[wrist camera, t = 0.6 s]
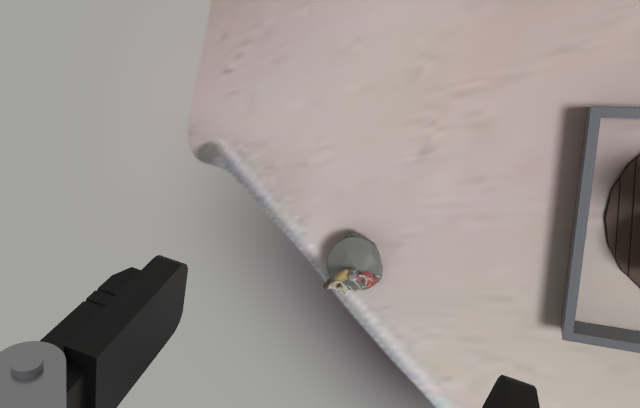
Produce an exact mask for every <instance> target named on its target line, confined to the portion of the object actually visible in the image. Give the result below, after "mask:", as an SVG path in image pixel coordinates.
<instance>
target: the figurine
mask: <svg viewBox="0 0 640 408" xmlns="http://www.w3.org/2000/svg"><path fill="white" fill-rule="evenodd" d="M327 269H328V272H329V275H330V277H331V278H332V280H331V279H328V280H327V282H326V283H325V286H324V288H325V289H330V288H334V289H336V291H337V292H339V293H340V294H342V295H345V292H348V289H349V290H352V291H354V290H355V291H358V290H365V289H369V288H370V287H372V286H374V285H375V284H376V283H378V282H379V281H380V279H381V277H382V271H383V269H382V264H381V260H380V255H379V252H378V250H377V247H376V245H375V244H374V243H373V242H372V241H370V240H369V239H366V238H363V237H362V236H361V235H360V234H358V233H350V234H348V235H347V236H345V239H343V240H341V241H340V242H338V243H337V244H336V245H335V246H334V247H333V248H332V250H331V252H330V254H329V256H328V259H327ZM335 287H336V288H335ZM338 289H339V290H340V291H342V292H344V293H341V292H340V291H339V290H338Z"/></svg>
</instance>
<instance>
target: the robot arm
mask: <svg viewBox="0 0 640 408" xmlns="http://www.w3.org/2000/svg"><path fill="white" fill-rule="evenodd" d="M187 272H188V267H187V265H186V264H184V263H181V262H178V261H175V260H172V259H169V258H166V257H163V256H160V255H158V256H156V257H155V258H153V259H152V260H151V261H150V262H149V263H148V264H147V265H146V266H145V267H144V268H143V269H142V270H138V269H135V268H133V267H131V268H128V269H126V270H124V271H122V272H119V273H117V274H114V275H112V276H111V277H110V278H109V279H108V280H107V281H106V282H104V283H103V284H102V285H101V286H100V287H99V288H98V290H97V291H94V292H93V293H92V294H91V295H90V296H89V297H88V298H87V299H86V301H85V302H82V303H81V304H80V305H79V306H78V307H77V308H76V309H75V310H74V311H72V312H71V313H70V314H69V315H68V316H67V317H66V318H65V319H64V320H62V321H61V322H60V323H59V324H58V325H57V326H56V327H55V328H54V329H53V330H52V331H50V332H49V333H48V334H47V335H46V336H45V337H44V338H43V339H41V340H40V341H32V342H23V343H19V344H16V345H13V346H11V347H8V348H6V349H5V350H3V351H2V352H0V408H117V406H118V405H119V404H120V402H121V401H122V400H123V398H124V397H125V396H126V395H127V393H128V392H129V391H130V389H131V388H132V387H133V386H134V384H135V383H136V382H137V380H138V379H139V378H140V376H141V375H142V374H143V373H144V371H145V370H146V369H147V367H148V366H149V365H150V363H151V362H152V361H153V360H154V358H155V357H156V356H157V354H158V353H159V352H160V350H161V349H162V348H163V347H164V345H165V344H166V343H167V341H168V340H169V339H170V337H171V336H172V335H173V333H174V332H175V330H176V328H177V326H178V324H179V322H180V319H181V316H182V311H183V304H184V296H185V289H186V281H187ZM482 408H540V407H539V401H538V395H537V390H536V388H535V386H533V385H530V384H527V383H525V382H522V381H519V380H516V379H513V378H510V377H507V376H504V375H501V376H500V377H499V378H498V379H497V381H496V383H495V385H494V387H493V388H492V390H491V392H490V394H489V396H488V398H487V400H486V401H485V403H484V405H483V407H482Z"/></svg>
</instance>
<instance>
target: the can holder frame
mask: <svg viewBox="0 0 640 408" xmlns="http://www.w3.org/2000/svg"><path fill="white" fill-rule="evenodd" d="M601 117H615V118H640V108H621V107H588V109H587V117H586V125H585V133H584V142H583V150H582V158H581V166H580V174H579V183H578V191H577V199H576V207H575V215H574V224H573V232H572V240H571V248H570V256H569V265H568V273H567V281H566V289H565V297H564V306H563V314H562V322H561V332H562V340H567V341H573V342H579V343H585V344H591V345H596V346H602V347H608V348H614V349H620V350H626V351H631V352H637V353H640V332H639V331H633V330H627V329H620V328H614V327H608V326H602V325H595V324H589V323H583V322H576V321H575V315H576V307H577V299H578V292H579V284H580V276H581V268H582V260H583V252H584V244H585V237H586V229H587V221H588V213H589V205H590V197H591V189H592V182H593V174H594V166H595V158H596V150H597V142H598V135H599V127H600V119H601Z"/></svg>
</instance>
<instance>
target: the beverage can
mask: <svg viewBox="0 0 640 408" xmlns="http://www.w3.org/2000/svg"><path fill="white" fill-rule="evenodd" d="M604 217H605V225H606V234H607V242H608V245H609V247H610V249H611V251H612V253H613V255H614V257H615V259H616V260H617V262H618V264H619V266H620V268H621V269H622V270H623V271H624V272H625V273H626V274H627V275H628V276H629V277H630V278H631V279H632V280H633V281H634V282H635V283H636V284H637V285H638V286H639V287H640V155H639V156H637V157H636V158H635V159H634V160H632V161H631V162H630V163H629V164H628V165H627V166H626V167H625V169H624V171H623V172H622V174H621V175H620V177H619V178H618V180H617V181H616V183H615V184H614V186H613V187H612V189H611V192H610V196H609V200H608V204H607V208H606V212H605V216H604Z"/></svg>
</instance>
